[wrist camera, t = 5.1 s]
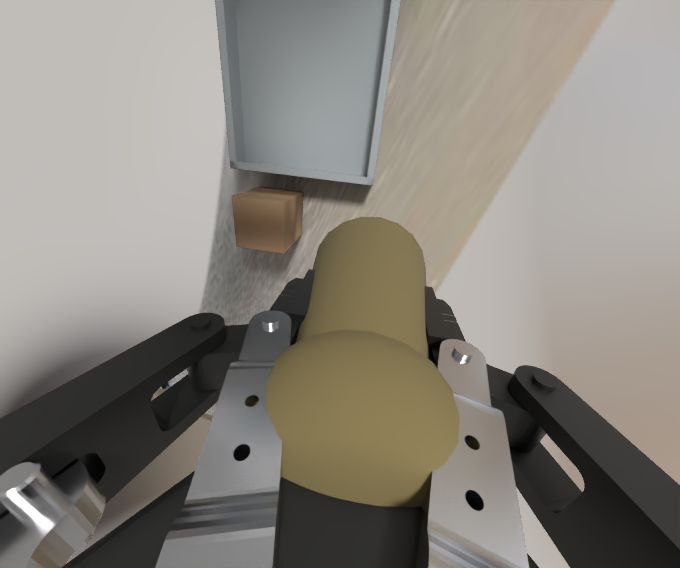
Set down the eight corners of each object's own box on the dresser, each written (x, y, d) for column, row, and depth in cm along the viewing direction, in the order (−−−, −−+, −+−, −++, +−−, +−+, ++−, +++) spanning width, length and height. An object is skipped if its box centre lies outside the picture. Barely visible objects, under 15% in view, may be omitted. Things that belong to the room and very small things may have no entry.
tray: (222, -123, 17) (200, -162, 15) (418, -116, 17) (423, -156, 14) (243, 166, 26) (230, 168, 24) (373, 182, 25) (372, 185, 23)
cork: (426, 314, 15) (509, 618, 5) (325, 319, 16) (243, 576, 6) (424, 208, 12) (588, 437, 3) (303, 224, 13) (109, 421, 4)
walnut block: (260, 186, 27) (231, 195, 21) (303, 192, 26) (283, 202, 21) (262, 229, 29) (236, 246, 24) (302, 234, 28) (284, 253, 23)
